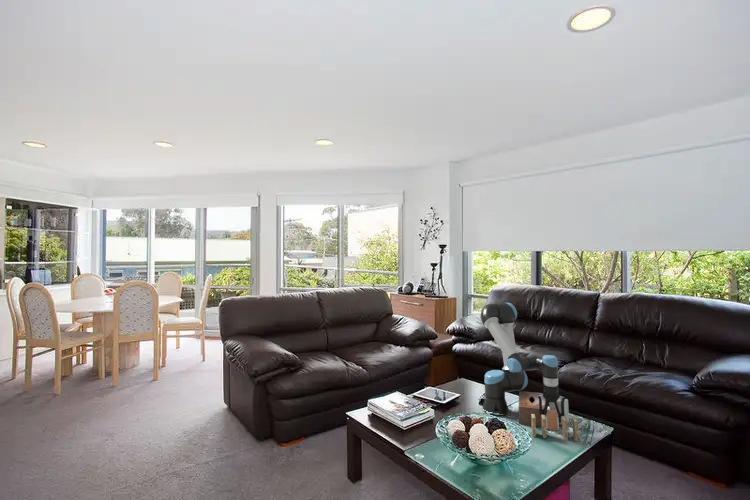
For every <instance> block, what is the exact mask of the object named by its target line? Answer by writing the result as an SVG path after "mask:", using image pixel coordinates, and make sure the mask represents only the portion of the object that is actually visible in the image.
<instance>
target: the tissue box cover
mask: <svg viewBox="0 0 750 500" xmlns="http://www.w3.org/2000/svg"><path fill="white" fill-rule="evenodd" d="M542 394H543V392H531V391H522V390H519V391H518V424H519V425H525V426H532V419H531V414H535V418H536V427H541V428H542V417H541V415H542V414H540V413H539V398H538V395H542ZM541 400H542V412H543V410H544V406H545V401H546V399H545V398H544V397H543V399H541ZM546 414H547V412H546Z"/></svg>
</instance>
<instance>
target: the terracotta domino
mask: <svg viewBox="0 0 750 500" xmlns="http://www.w3.org/2000/svg"><path fill="white" fill-rule="evenodd" d="M547 425H548V429H547V430H549V431H558V429H557V411H556V410H550V409H547Z"/></svg>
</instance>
